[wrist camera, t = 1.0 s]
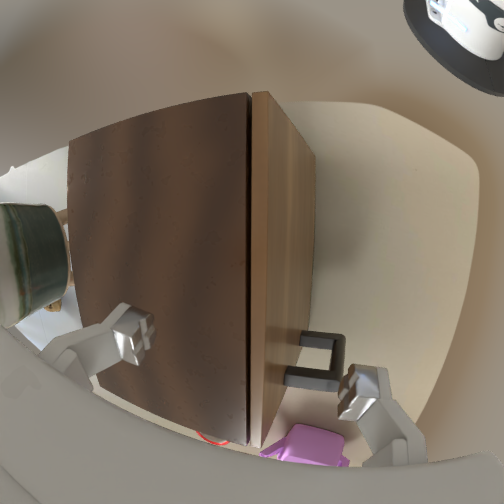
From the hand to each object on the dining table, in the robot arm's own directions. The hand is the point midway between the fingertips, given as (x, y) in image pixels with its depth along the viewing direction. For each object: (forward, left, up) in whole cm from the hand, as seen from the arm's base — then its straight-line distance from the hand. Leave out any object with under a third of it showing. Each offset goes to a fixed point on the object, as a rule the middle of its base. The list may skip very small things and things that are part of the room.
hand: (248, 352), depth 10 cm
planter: (+2, -45, -30) cm, 54 cm away
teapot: (+41, +3, -30) cm, 51 cm away
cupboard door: (+1, +1, -30) cm, 30 cm away
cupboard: (+1, -11, -30) cm, 32 cm away
